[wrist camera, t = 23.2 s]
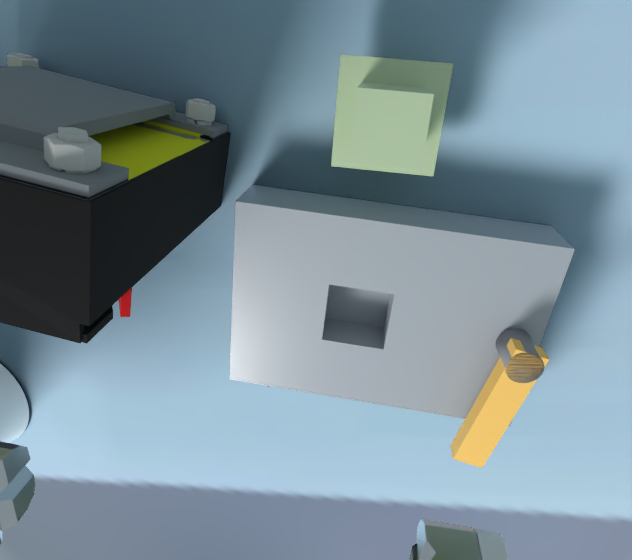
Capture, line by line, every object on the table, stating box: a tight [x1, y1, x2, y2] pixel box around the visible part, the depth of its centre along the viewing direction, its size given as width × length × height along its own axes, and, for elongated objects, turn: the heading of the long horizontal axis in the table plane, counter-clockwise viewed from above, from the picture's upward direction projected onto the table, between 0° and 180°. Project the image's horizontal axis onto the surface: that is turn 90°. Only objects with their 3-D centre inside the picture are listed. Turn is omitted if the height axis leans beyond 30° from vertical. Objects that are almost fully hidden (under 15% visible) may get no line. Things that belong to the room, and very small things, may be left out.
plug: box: [331, 54, 454, 176], centre depth 31 cm, size 7×7×11 cm
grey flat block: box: [230, 185, 575, 426], centre depth 39 cm, size 24×16×5 cm, turn 84°
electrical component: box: [0, 53, 231, 343], centre depth 30 cm, size 18×10×20 cm, turn 77°
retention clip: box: [451, 329, 549, 468], centre depth 37 cm, size 11×3×3 cm, turn 164°
